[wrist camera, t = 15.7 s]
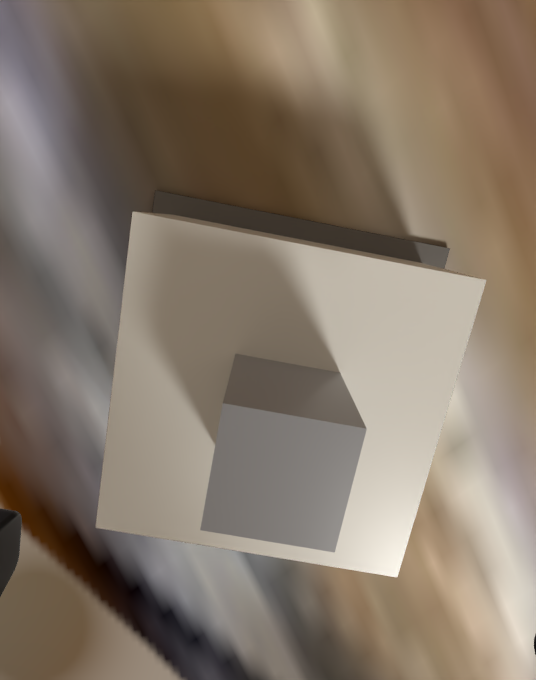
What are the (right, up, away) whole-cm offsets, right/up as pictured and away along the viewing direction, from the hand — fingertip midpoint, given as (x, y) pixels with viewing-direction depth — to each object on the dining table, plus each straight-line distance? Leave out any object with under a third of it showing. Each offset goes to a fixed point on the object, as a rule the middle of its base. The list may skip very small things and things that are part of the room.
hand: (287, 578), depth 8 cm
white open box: (0, +3, +13) cm, 13 cm away
